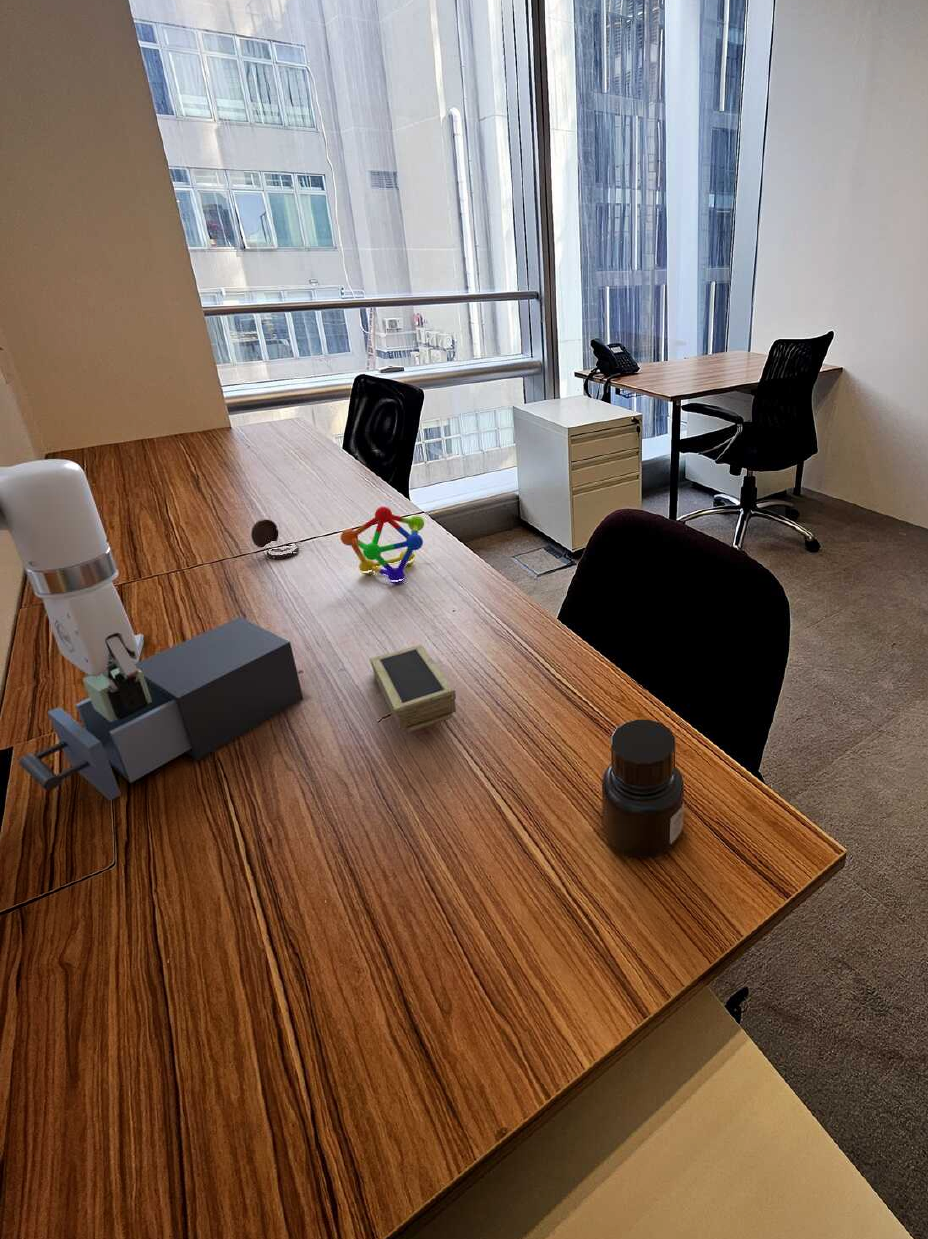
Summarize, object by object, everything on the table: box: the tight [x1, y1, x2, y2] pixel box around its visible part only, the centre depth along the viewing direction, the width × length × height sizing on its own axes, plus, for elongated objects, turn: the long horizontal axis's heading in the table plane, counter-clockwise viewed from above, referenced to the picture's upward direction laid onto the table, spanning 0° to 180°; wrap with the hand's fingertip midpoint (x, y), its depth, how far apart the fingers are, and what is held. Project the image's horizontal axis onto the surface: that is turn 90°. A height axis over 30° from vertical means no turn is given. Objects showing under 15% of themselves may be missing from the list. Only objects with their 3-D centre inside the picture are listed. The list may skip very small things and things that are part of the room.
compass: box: [251, 519, 302, 560], centre depth 139 cm, size 8×8×7 cm
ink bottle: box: [601, 718, 685, 858], centre depth 71 cm, size 10×9×12 cm
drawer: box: [19, 681, 191, 802], centre depth 80 cm, size 18×11×8 cm, turn 147°
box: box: [369, 644, 457, 734], centre depth 94 cm, size 8×22×5 cm, turn 32°
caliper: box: [131, 633, 145, 664], centre depth 100 cm, size 20×1×6 cm, turn 33°
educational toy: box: [340, 506, 425, 585], centre depth 127 cm, size 16×13×15 cm
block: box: [82, 668, 152, 722], centre depth 79 cm, size 4×4×4 cm
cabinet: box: [135, 616, 304, 761], centre depth 90 cm, size 15×13×10 cm
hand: (122, 703), depth 80 cm, fingers closed on block, 4 cm apart
